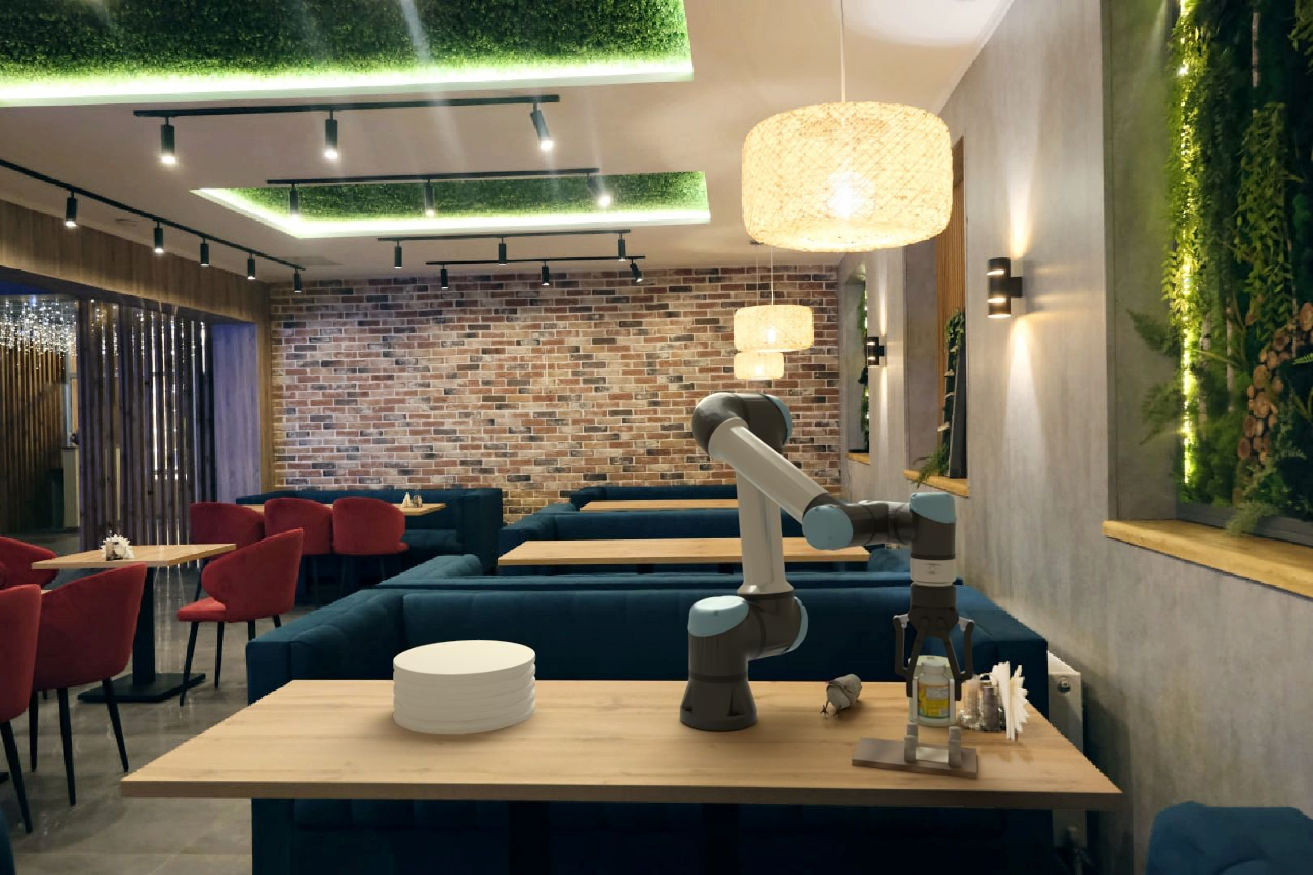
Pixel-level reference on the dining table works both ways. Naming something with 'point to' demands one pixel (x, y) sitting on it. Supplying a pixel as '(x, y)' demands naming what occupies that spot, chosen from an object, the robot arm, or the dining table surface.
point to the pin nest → (918, 754)
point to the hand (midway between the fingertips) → (933, 717)
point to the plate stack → (463, 686)
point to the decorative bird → (842, 692)
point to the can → (916, 674)
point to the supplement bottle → (933, 693)
